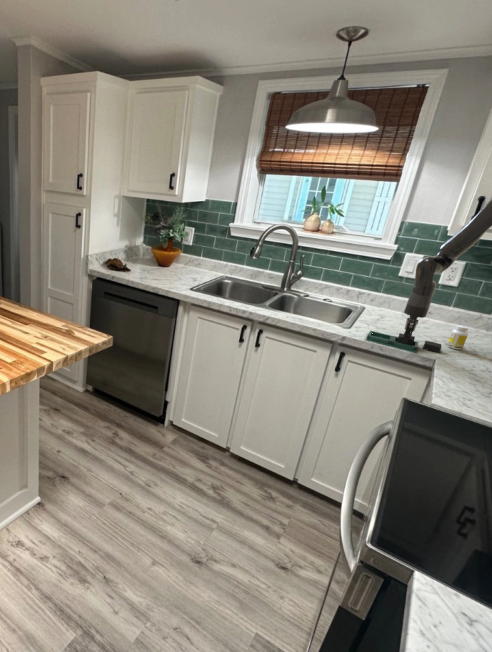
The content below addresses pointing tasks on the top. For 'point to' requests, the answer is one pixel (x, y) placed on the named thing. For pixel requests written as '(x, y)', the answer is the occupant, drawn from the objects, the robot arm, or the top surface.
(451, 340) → the supplement bottle
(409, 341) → the near pad
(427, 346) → the far pad
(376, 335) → the base board
